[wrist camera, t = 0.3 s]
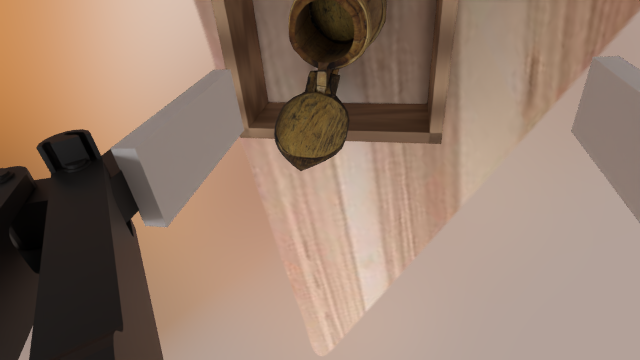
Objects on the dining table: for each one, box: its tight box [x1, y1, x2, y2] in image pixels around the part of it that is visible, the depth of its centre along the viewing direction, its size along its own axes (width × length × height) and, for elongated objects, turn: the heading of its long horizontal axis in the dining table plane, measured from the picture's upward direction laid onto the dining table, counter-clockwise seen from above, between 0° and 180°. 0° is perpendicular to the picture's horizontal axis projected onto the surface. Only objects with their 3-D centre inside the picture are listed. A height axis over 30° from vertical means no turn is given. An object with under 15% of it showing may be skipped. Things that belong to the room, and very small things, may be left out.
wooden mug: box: [274, 0, 386, 171], centre depth 33 cm, size 9×14×18 cm, turn 177°
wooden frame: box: [211, 0, 458, 144], centre depth 38 cm, size 19×21×7 cm
